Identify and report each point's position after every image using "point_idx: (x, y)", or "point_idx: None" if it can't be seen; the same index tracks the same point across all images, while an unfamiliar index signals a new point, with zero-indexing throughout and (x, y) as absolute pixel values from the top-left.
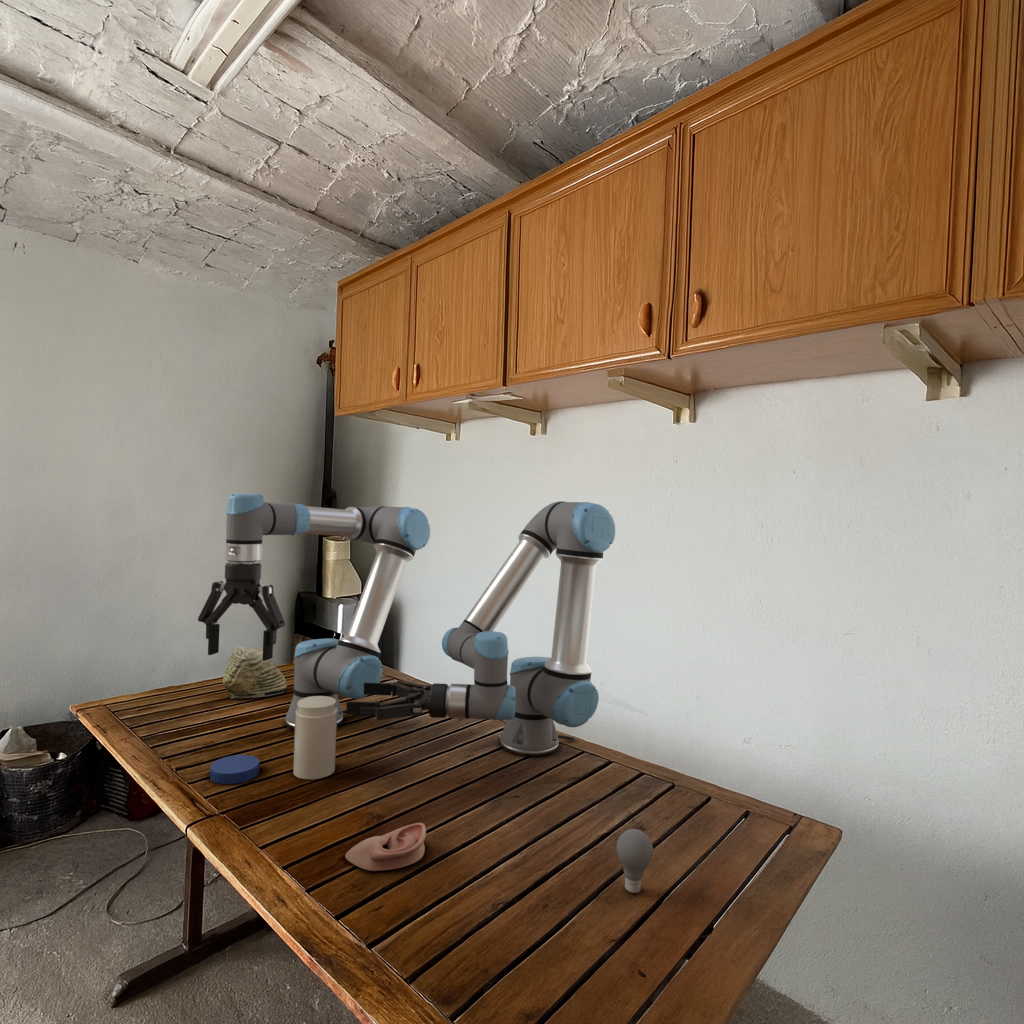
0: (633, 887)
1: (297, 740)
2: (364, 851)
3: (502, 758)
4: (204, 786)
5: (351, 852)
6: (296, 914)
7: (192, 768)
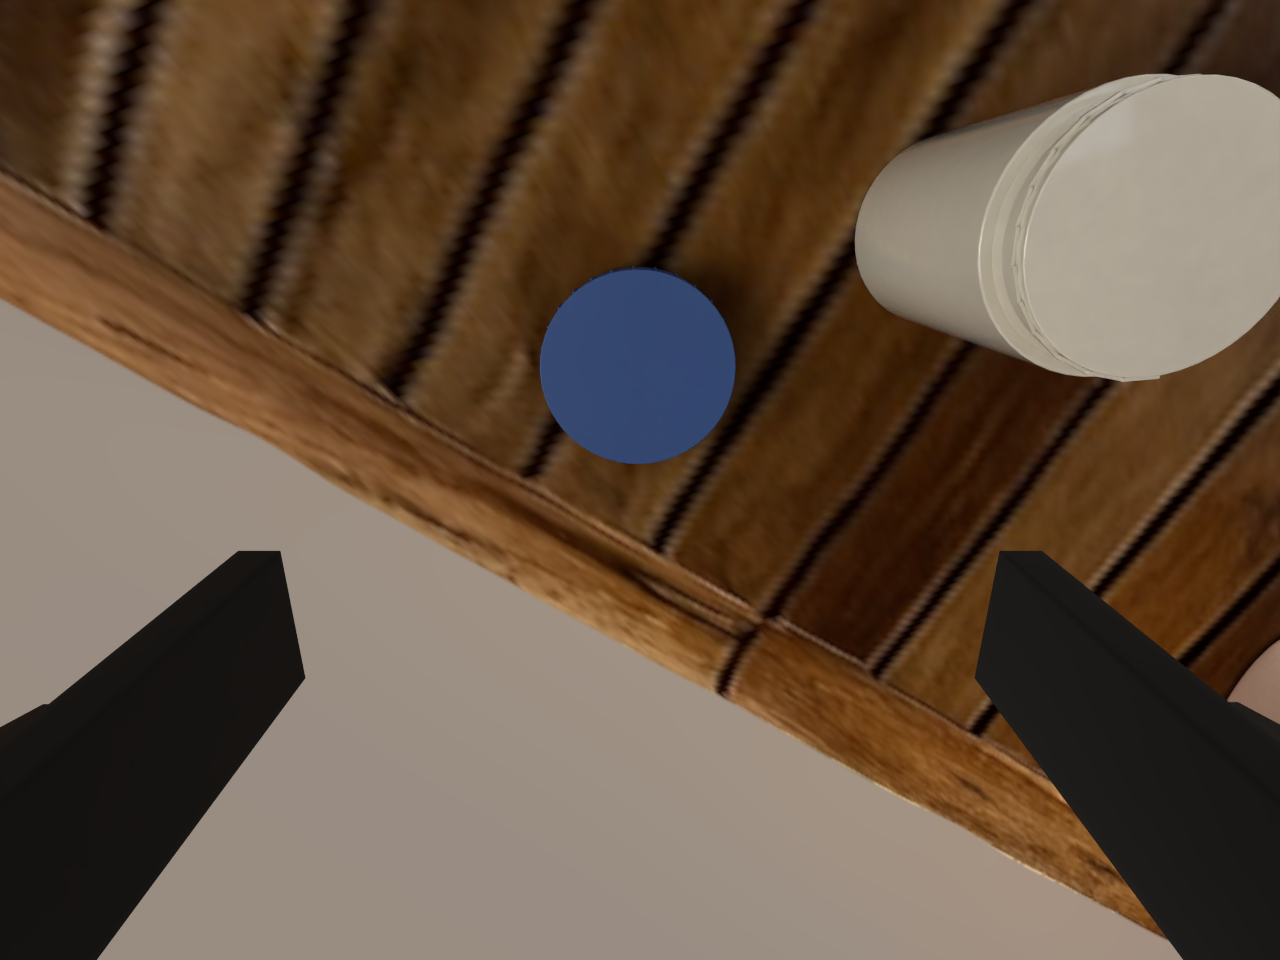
0: None
1: (958, 335)
2: None
3: None
4: (596, 482)
5: None
6: None
7: (441, 363)
